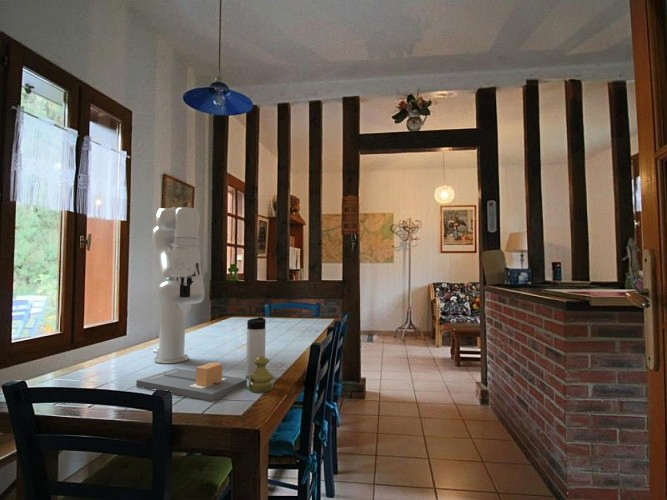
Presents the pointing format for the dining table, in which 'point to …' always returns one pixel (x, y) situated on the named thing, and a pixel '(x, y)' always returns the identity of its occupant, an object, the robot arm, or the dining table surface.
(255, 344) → the travel mug
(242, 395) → the dining table surface
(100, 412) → the dining table surface
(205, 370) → the fader knob
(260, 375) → the olive metallic turned piece
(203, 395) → the fader console
